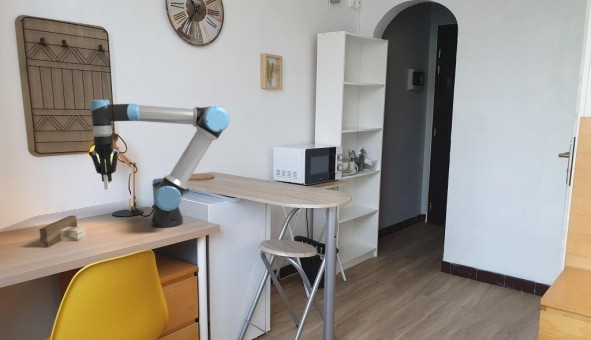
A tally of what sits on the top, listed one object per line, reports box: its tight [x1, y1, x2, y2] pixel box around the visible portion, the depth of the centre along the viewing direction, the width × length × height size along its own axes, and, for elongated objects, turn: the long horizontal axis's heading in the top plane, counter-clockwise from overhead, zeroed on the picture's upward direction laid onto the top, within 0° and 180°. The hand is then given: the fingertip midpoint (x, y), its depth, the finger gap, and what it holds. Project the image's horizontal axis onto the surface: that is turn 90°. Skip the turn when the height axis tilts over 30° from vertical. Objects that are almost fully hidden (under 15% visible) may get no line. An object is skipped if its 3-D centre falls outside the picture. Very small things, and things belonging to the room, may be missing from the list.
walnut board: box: [39, 215, 78, 248], centre depth 190 cm, size 3×22×8 cm, turn 177°
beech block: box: [60, 226, 87, 242], centre depth 190 cm, size 8×6×5 cm
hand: (107, 188), depth 191 cm, fingers closed
